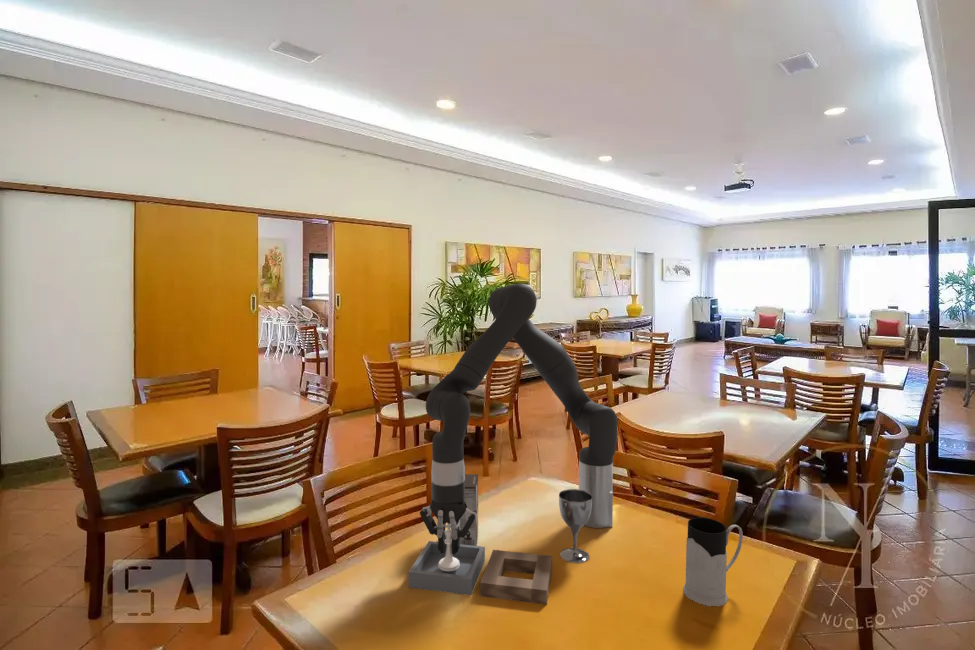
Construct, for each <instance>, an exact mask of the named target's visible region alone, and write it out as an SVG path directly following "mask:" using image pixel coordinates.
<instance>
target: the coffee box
mask: <svg viewBox="0 0 975 650" xmlns="http://www.w3.org/2000/svg"><path fill="white" fill-rule="evenodd" d="M465 502H466V504H467V508H468V509H470V510H471V511H474V510H475V511H477V516H476V518H475V519H474V521H473V523H472V525H471V527H470V528H469V530H468V532H467V534H466V535H465V537H464V538H462V537H460V544H462V545H472V546H478V539H479V538H478V537H479V474H477V473H476V474H474V473H473V474H472V473H470V474H466V473H465ZM465 517H466V514H465V513H464V514H463V516H462V517H461V518H460V529H463V528H464V526H465V524H466V522H467V520H466V518H465Z"/></svg>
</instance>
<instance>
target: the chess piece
mask: <svg viewBox="0 0 975 650" xmlns="http://www.w3.org/2000/svg"><path fill="white" fill-rule="evenodd" d="M446 528H447V529H446ZM444 533H445V536H446V540H445V541H444V543H445V544H447V547H446V556H445V557H444V558H443V559H441V560H440V561H439V563H438V567H439V569H441V570H443V571H454V570H456V569H458V568H459V566H460V563H459V560H458V559H457V558H454V557H453V556H452V549H451V544H452V530H451V525H450V524H449V523H447V524H446V525H445V531H444Z"/></svg>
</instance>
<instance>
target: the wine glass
mask: <svg viewBox="0 0 975 650" xmlns="http://www.w3.org/2000/svg"><path fill="white" fill-rule="evenodd" d="M558 506H559V507H558V508H559V512H560V516H561V519H562V520H563V522H564V523H565V524H566V525H567V526H568V528H569V529H570V531H571V534H572V542H573V547H568V548H565V549H562V550H561V551H560V554H559V555H560V557H561V559H563V560H564V561H566V562H568V563H573V564H581V563H585V562H588V561H590V558H591V555H590V554H589V552H588V551H586V550H584V549H582V548H578V547H577V543H578V534H579V532H580V530H582V528H583V527H584V526H585V524H586V523H587V522H588V520H589V518H590V514H591V509H592V495H591V494H590V493H588V492H586V491H583V490H579V488H578V489H577V488H571V489H570V488H569V489H563V490H561V491H560V492H559V493H558Z"/></svg>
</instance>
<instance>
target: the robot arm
mask: <svg viewBox="0 0 975 650" xmlns="http://www.w3.org/2000/svg"><path fill="white" fill-rule="evenodd" d="M537 300H538V299H537V295H536V292H535V291H534V289H533V288H532V287H531V286H530V285H528V284H525V283H513V284H510V285H505V286H502V287H498V288H496V289H495V290H492V292H491V293H490V295H489V297H488V307H489V311H490V313H491V315H492V316H493V317H494V319H495V320H493V322H492V323H491V325H490V326H489V327H488V328H487V329H485V330H484V331H483V333H481V335H479V336H478V337H477V338H476V339H475V340H474V341H473V342H472V343H471V344H470V345H469V346H468V347H467V349H466V350H465V351H464V353H463V354H462V356H460V358H459V360H458V362H457V363H456V364H455V366H454V367H453V369H452V370H451V371H450V372H449V373H447V375H445V377H443V378H442V379H441V380H440V381H439V382H438V383H437V384H436V385H435V386H434V387H433V388H432V389H431V391H430V392H429V394H428V396H427V398H426V402H425V411H426V414H427V415H428V416H429V417H430V418H431V419H433V420H436V421H440V422H443V430H441V431H437V432H436V433H435V434H434V435H433V436H432V445H431V446H432V447H431V448H432V449H431V452H432V453H431V455H432V457H431V458H432V459H431V460H432V463H431V473H430V479H431V501H430V504H429V505H428V506H426V505H425V506H423V507H422V509H421V510H420V511H419V515H420V517H421V519H422V521H423V523H424V524H425V527H426V530H427V531H428V533H429V534H430V535H432V536H433V535H434V536H436V537H437V542H438V550H439V551H440V553H441V554H444V553H445V551H446V544H445V543H444V541H445V540H446V536H445V533H444V531H445V530H446V528H445V525H447V524H448V523H449V524H450V525H451V528H450V529H451V530H452V538H451V539H452V555H455V554H456V552H458V550H459V548H460V537H462V538H464V537H465V535H466V534H467V532H468V530H469V528H470V527H471V525H472V523H473V521H474V519H475V518H476V516H477V511H475V510H474V511H471V510H470V509H468V508H467V504H466V502H465V474H466V469H465V468H466V467H465V460H464V457H465V456H464V447H465V446H464V440H465V437H466V434H467V429H468V424H469V420H470V417H471V404H470V402H469V399H468V398H467V396H466V395H465V394H464V393H467V392H472V391H475V390H476V389H478V387H479V386H480V384H481V383H482V381H483V379H484V378H485V377H486V375H487V373H488V372H489V370H490V368H491V367H492V365H493V364H494V362H495V361H496V359H497V357H498V356H499V355H500V354H501V352H502V351H503V349H504V348H505V347H506V346H507V344H508V343H509V342H510V341H511V339H513V340H514V341H515V342H516V343H517V345H518V346H519V347H520V349H521V350H522V352H523V353H524V354H525V356H526V357H527V358H528V359H529V361H530V362H531V364H532V365H533V367H534V368H535V370H536V371H537V372H538V374H539V376H541V378H542V379H543V380H544V382H545V383H546V384H547V385H548V387H549V388H550V390H552V392H553V393H554V394H555V396H556V397H557V399H559V400H560V402H561V404H562V405H563V406H564V408H565V410H566V412H567V413H568V415H569V417H570V419H571V420H572V422H573V425H574V426H575V427H576V428H577V430H578V431H579V432H581V433H583V434H585V435H587V436H589V437H588V446H584V447H581V449H580V450H579V456H578V458H579V459H578V469H579V470H578V471H579V472H578V490H583V491H586V492H588V493H590V494H591V495H592V509H591V514H590V518H589V520H588V522H587V523H586V524H585V525H584V526H586V527H589V528H594V529H603V528H608V527H609V528H610V527H611V528H612V527H613V524H614V523H613V521H614V520H613V519H614V516H613V515H614V514H613V512H614V511H613V509H614V508H613V507H614V491H613V487H614V486H613V485H614V484H613V483H614V482H613V478H614V476H613V475H614V473H613V472H614V456H615V453H616V450H617V440H618V417H617V413H616V412H615V410H614V409H613V408H611V407H609V406H608V405H603V404H601V403H597V402H595V401H593V400H592V399H591V398H590V397H589V396H588V394H587V393H586V392H585V391H584V389H583V388H582V386H581V384H580V380H579V373H578V369H577V366H576V364H575V363H574V361H573V359H572V357H571V356H570V355H569V353H568V352H567V351H566V349H565V348H564V347H563V345H562V344H561V343H560V342H558V340H556V339H554V338H553V337H552V336H550V335H549V334H548V333H546V332H544V331H543V330H541V328H539V327H537V326H536V325H535V324H534V323H533V322H532V320H531V319H530V318H531V317H532V315H533V314H534V312H535V310H536V308H537V302H538V301H537ZM464 513H465V514H466V517H465V518H466V520H467V522H466V524H465V526H464V528H463V529H460V518H461V517H462V516H463V514H464ZM432 514H433V515H434V517H435V518H436V519H437V521H435V519H434V517H433V515H432ZM436 522H437V523H436Z"/></svg>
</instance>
